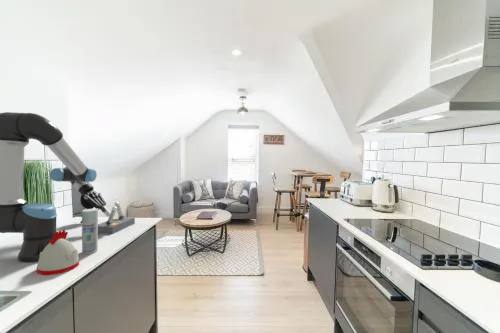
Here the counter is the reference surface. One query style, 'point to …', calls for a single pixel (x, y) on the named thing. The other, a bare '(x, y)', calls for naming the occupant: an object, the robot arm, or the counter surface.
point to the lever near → (111, 215)
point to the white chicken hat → (58, 256)
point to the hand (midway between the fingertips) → (109, 214)
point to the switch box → (115, 225)
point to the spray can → (89, 231)
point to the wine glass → (85, 203)
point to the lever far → (119, 210)
